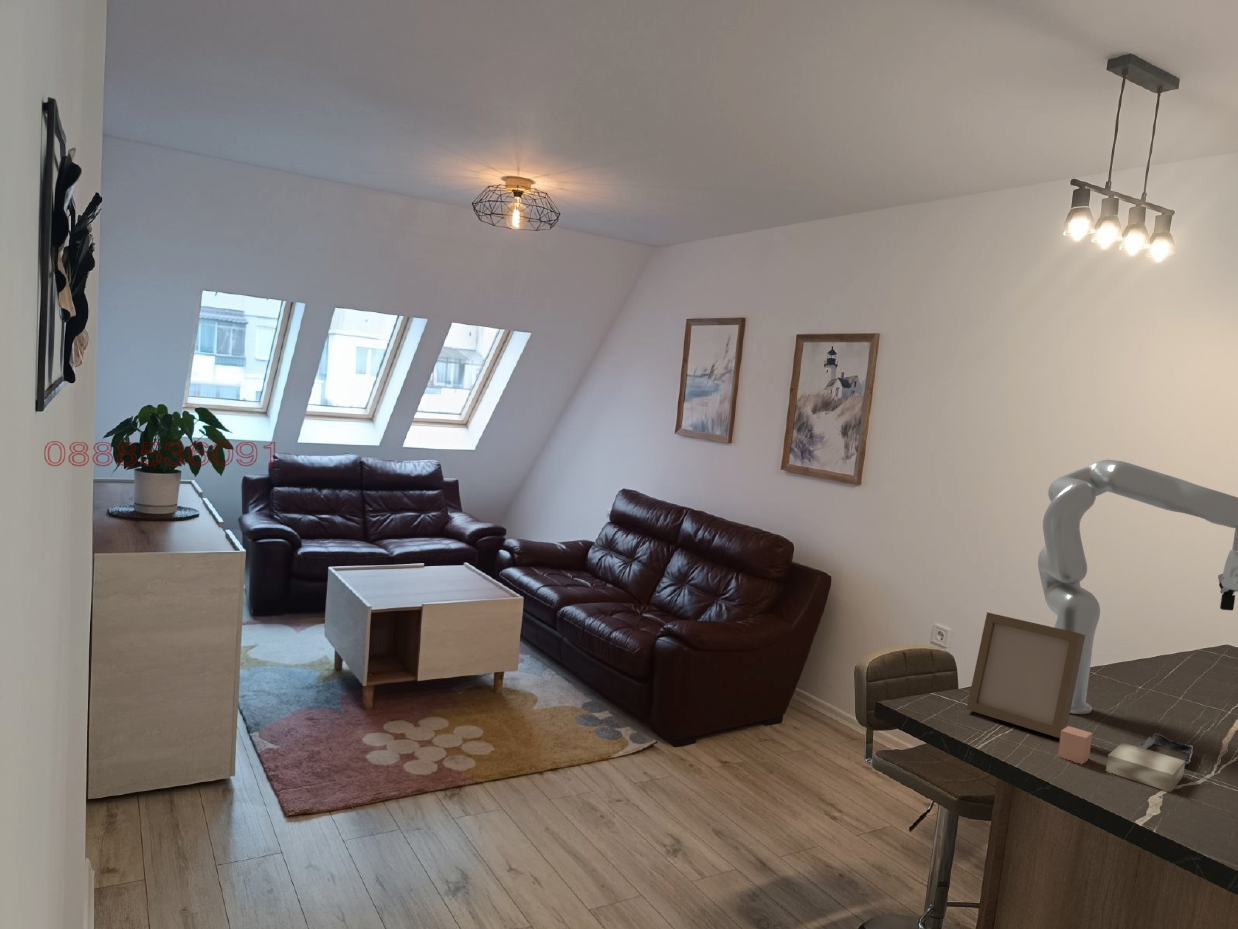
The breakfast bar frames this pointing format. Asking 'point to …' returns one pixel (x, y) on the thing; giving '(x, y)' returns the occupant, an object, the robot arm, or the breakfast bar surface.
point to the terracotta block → (1075, 744)
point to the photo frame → (1026, 673)
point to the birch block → (1145, 766)
